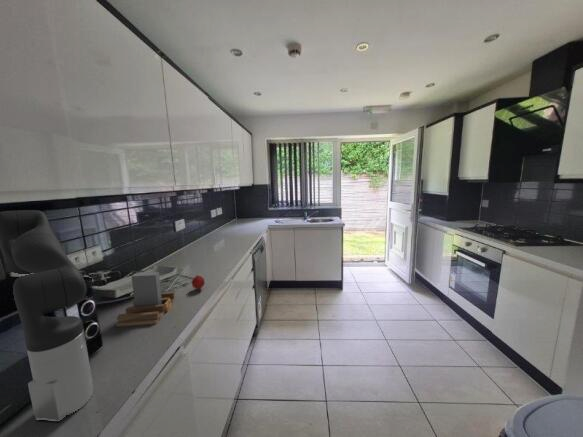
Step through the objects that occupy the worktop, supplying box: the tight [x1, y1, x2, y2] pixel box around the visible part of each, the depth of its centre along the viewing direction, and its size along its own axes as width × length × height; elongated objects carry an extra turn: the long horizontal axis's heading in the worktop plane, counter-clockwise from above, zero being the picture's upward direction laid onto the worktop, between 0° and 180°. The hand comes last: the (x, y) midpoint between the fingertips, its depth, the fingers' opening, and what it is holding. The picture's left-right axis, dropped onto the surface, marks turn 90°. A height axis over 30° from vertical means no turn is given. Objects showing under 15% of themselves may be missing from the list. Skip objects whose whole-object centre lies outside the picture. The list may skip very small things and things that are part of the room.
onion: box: [191, 274, 205, 291], centre depth 114 cm, size 6×6×8 cm
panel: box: [131, 271, 162, 306], centre depth 94 cm, size 3×9×15 cm, turn 97°
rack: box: [115, 291, 177, 328], centre depth 95 cm, size 20×15×4 cm
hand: (113, 277), depth 91 cm, fingers open, 8 cm apart
